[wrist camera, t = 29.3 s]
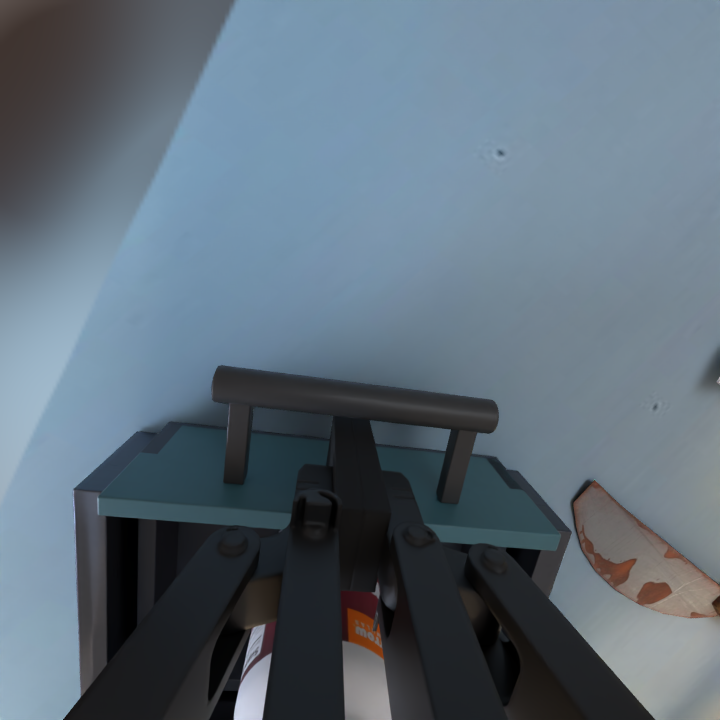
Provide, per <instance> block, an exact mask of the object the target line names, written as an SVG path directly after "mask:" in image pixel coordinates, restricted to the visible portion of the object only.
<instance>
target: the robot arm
mask: <svg viewBox="0 0 720 720" xmlns="http://www.w3.org/2000/svg"><path fill="white" fill-rule="evenodd" d="M377 580H378V581H379V588H380V594H379V599H378V604H377V608H376V613H375V618H374V622H373V631H377V627H378V622H379V627H380V635H381V642H382V650H383V657H384V665H385V673H386V680H387V688H388V695H389V703H390V711H391V718H392V720H655V719H654V718H653V717H652V716H651V714H650V713H649V712H648V711H647V710H646V709H645V708H644V706H643V705H642V704H641V703H640V702H639V701H638V700H637V699H636V697H635V696H634V695H633V694H632V693H631V692H630V691H629V689H628V688H627V687H626V686H625V685H624V684H623V683H622V681H621V680H620V679H619V678H618V677H617V676H616V675H615V673H614V672H613V671H612V670H611V669H610V668H609V667H608V666H607V664H606V663H605V662H604V661H603V660H602V659H601V658H600V656H599V655H598V654H597V653H596V652H595V651H594V650H593V648H592V647H591V646H590V645H589V644H588V643H587V642H586V640H585V639H584V638H583V637H582V636H581V635H580V634H579V633H578V631H577V630H576V629H575V628H574V627H573V626H572V625H571V623H570V622H569V621H568V620H567V619H566V618H565V617H564V615H563V614H562V613H561V612H560V611H559V610H558V609H557V607H556V606H555V605H554V604H553V603H552V602H551V601H550V600H549V598H548V597H547V596H546V595H545V594H544V593H543V592H542V590H541V589H540V588H539V587H538V586H537V585H536V584H535V582H534V581H533V580H532V579H531V578H530V577H529V576H528V575H527V573H526V572H525V571H524V570H523V569H522V568H521V567H520V565H519V564H518V563H517V562H516V561H515V560H514V559H513V558H512V557H511V556H510V555H509V554H508V553H507V552H506V551H504V550H502V549H500V548H499V547H497V546H494V545H491V544H487V543H478V544H475V545H472V547H471V548H470V549H469V552H468V554H466V553H463V552H459V551H456V550H453V549H451V548H448V547H446V546H444V545H442V544H441V543H440V540H439V538H438V536H437V535H436V533H435V532H434V531H433V530H432V529H431V528H429V527H428V526H426V525H425V524H424V522H423V519H422V516H421V513H420V510H419V507H418V505H417V502H416V500H415V496H414V493H413V492H412V488H411V485H410V482H409V480H408V479H407V478H406V477H405V476H404V475H403V474H402V473H401V472H396V471H386V470H381V466H380V462H379V458H378V454H377V449H376V445H375V441H374V437H373V433H372V429H371V425H370V421H369V420H365V419H356V418H348V417H339V416H333V421H332V428H331V435H330V441H329V448H328V454H327V461H326V466H325V465H315V464H304V465H303V466H302V467H301V469H300V470H299V471H298V476H297V483H296V490H295V496H294V500H293V506H292V514H291V521H290V523H289V524H288V526H287V527H286V528H285V529H284V530H282V531H281V532H279V533H277V534H274V535H271V536H266V537H261V538H260V537H259V535H258V534H257V533H256V532H255V531H254V530H253V529H251V528H248V527H246V526H239V525H233V526H226V527H223V528H221V529H219V530H216V531H215V532H214V533H213V534H211V535H210V536H209V537H208V538H207V540H206V541H205V542H204V543H203V545H202V546H201V547H200V548H199V550H198V551H197V552H196V553H195V555H194V556H193V557H192V558H191V560H190V561H189V562H188V563H187V565H186V566H185V567H184V568H183V570H182V571H181V572H180V573H179V575H178V576H177V577H176V578H175V580H174V581H173V582H172V583H171V585H170V586H169V587H168V589H167V590H166V591H165V592H164V594H163V595H162V596H161V597H160V599H159V600H158V601H157V602H156V604H155V605H154V606H153V607H152V609H151V610H150V611H149V612H148V614H147V615H146V616H145V617H144V619H143V620H142V621H141V622H140V624H139V625H138V626H137V627H136V629H135V630H134V631H133V632H132V634H131V635H130V636H129V638H128V639H127V640H126V641H125V643H124V644H123V645H122V646H121V648H120V649H119V650H118V651H117V653H116V654H115V655H114V656H113V658H112V659H111V660H110V661H109V663H108V664H107V665H106V666H105V668H104V669H103V670H102V671H101V673H100V674H99V675H98V676H97V678H96V679H95V680H94V681H93V683H92V684H91V685H90V687H89V688H88V689H87V690H86V692H85V693H84V694H83V695H82V697H81V698H80V699H79V700H78V702H77V703H76V704H75V705H74V707H73V708H72V709H71V710H70V712H69V713H68V714H67V715H66V717H65V718H64V719H63V720H209V719H210V716H211V714H212V712H213V710H214V708H215V706H216V704H217V702H218V699H219V697H220V695H221V693H222V691H223V689H224V687H225V685H226V682H227V680H228V678H229V676H230V674H231V672H232V670H233V668H234V666H235V663H236V661H237V659H238V657H239V655H240V653H241V651H242V649H243V646H244V644H245V642H246V640H247V638H248V636H249V634H250V630H251V628H253V627H257V626H260V625H264V624H268V623H271V622H275V621H276V627H275V634H274V641H273V648H272V655H271V662H270V669H269V676H268V683H267V690H266V697H265V704H264V711H263V718H262V720H345V701H344V673H343V645H342V617H341V591H357V592H374V593H375V590H376V585H377ZM501 628H503V630H504V631H505V633H506V634H507V636H508V637H509V639H510V640H509V639H508V638H507V637H506V636H505V635H504V634H503V632H502V631H501Z"/></svg>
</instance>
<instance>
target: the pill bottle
mask: <svg viewBox="0 0 720 720" xmlns="http://www.w3.org/2000/svg"><path fill="white" fill-rule="evenodd" d="M281 531H282V530H280V531H279V532H281ZM279 532H278V533H279ZM379 594H380V588H379V581H378V580H377V585H376V590H375V593H374V592H357V591H341V617H342V645H343V673H344V701H345V720H392V718H391V711H390V703H389V695H388V688H387V680H386V673H385V665H384V657H383V650H382V642H381V635H380V627H379V622H378V627H377V631H373V622H374V618H375V613H376V608H377V604H378V599H379ZM275 627H276V621H275V622H271V623H268V624H264V625H260V626H257V627H253V628H252V631H251V635H250V640H249V645H248V649H247V654H246V658H245V663H244V667H243V672H242V676H241V681H240V685H239V689H238V696H237V701H236V706H235V710H234V720H262V718H263V711H264V704H265V697H266V690H267V683H268V676H269V669H270V662H271V655H272V648H273V641H274V634H275Z"/></svg>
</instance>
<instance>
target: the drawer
mask: <svg viewBox="0 0 720 720" xmlns="http://www.w3.org/2000/svg"><path fill="white" fill-rule="evenodd" d="M211 395H212V400H213V401H214V402H218V403H227V404H229V413H228V426H227V428H224V427H214V426H205V425H196V424H187V423H177V422H169V423H168V424H167V425H166V426H165V427H164V428H163V429H162V430H161V431H160V432H159V433H158V434H157V435H156V436H155V437H154V439H153V440H152V441H151V442H150V443H149V444H148V445H147V446H146V447H145V448H144V449H143V450H142V451H141V452H140V453H139V454H138V455H137V456H136V457H135V458H134V459H133V460H132V461H131V462H130V463H129V465H128V466H127V467H126V468H125V469H124V470H123V471H122V472H121V473H120V474H119V475H118V476H117V477H116V478H115V479H114V480H113V481H112V482H111V483H110V484H109V485H108V486H107V487H106V488H105V489H104V490H103V491H102V492H101V494H100V495H99V496H98V498H97V503H98V515H101V516H114V517H127V518H138V589H137V626H138V625H139V624H140V622H141V621H142V620H143V619H144V617H145V616H146V615H147V614H148V612H149V611H150V610H151V609H152V607H153V606H154V605H155V604H156V602H157V601H158V600H159V599H160V597H161V596H162V595H163V594H164V592H165V591H166V590H167V589H168V587H169V586H170V585H171V583H172V582H173V581H174V580H175V578H176V577H177V576H178V575H179V573H180V572H181V571H182V570H183V568H184V567H185V566H186V565H187V563H188V562H189V561H190V560H191V558H192V557H193V556H194V555H195V553H196V552H197V551H198V550H199V548H200V547H201V546H202V545H203V543H204V542H205V541H206V540H207V538H208V537H209V536H210V535H211V534H213V533H214V532H215V531H216V530H219V529H221V528H223V527H226V526H233V525H239V526H246V527H248V528H251V529H253V530H254V531H255V532H256V533H257V534H258V535H259V537H260V538H261V537H266V536H271V535H274V534H277V533H278V532H279V531H280V530H284V529H285V528H286V527H287V526H288V524H289V523H290V521H291V514H292V506H293V500H294V496H295V490H296V483H297V476H298V471H299V470H300V469H301V467H302V466H303V465H304V464H315V465H325V466H326V461H327V454H328V448H329V441H330V439H325V438H316V437H307V436H297V435H288V434H279V433H270V432H260V431H251V430H252V420H253V409H254V407H261V408H270V409H279V410H287V411H296V412H305V413H313V414H322V415H330V416H339V417H348V418H356V419H365V420H374V421H382V422H391V423H400V424H408V425H417V426H426V427H434V428H443V429H451V432H450V436H449V441H448V445H447V449H446V452H445V451H436V450H427V449H418V448H408V447H399V446H390V445H381V444H375V445H376V449H377V454H378V458H379V462H380V466H381V470H386V471H396V472H401V473H402V474H403V475H404V476H405V477H406V478H407V479H408V480H409V482H410V485H411V488H412V492H413V493H414V496H415V500H416V502H417V505H418V507H419V510H420V513H421V516H422V519H423V522H424V524H425V525H426V526H428V527H429V528H431V529H432V530H433V531H434V532H435V533H436V535H437V536H438V538H439V540H440V543H441V544H442V545H444V546H446V547H448V548H451V549H453V550H456V551H459V552H463V553H466V554H468V552H469V549H470V548H471V547H472V545H475V544H478V543H487V544H491V545H494V546H497V547H499V548H500V549H502V550H504V551H506V548H507V547H511V548H524V549H537V550H550V551H556V549H557V547H558V544H559V541H560V538H561V534H560V533H559V532H558V531H557V530H556V528H555V527H554V526H553V525H552V524H551V522H550V521H549V520H548V519H547V518H546V517H545V515H544V514H543V513H542V512H541V511H540V509H539V508H538V507H537V506H536V505H535V503H534V502H533V501H532V500H531V499H530V497H529V496H528V495H527V494H526V493H525V491H524V490H523V489H522V488H521V486H520V485H519V484H518V483H517V482H516V480H515V479H514V478H513V477H512V476H511V474H510V473H509V472H508V471H507V470H506V468H505V467H504V466H503V465H502V464H501V462H500V461H499V460H498V459H497V458H496V457H492V456H482V455H473V454H471V453H472V450H473V446H474V442H475V438H476V434H477V433H486V434H490V433H492V432H494V430H495V429H496V427H497V424H498V418H499V412H498V407H497V404H496V403H495V402H494V401H493V400H490V399H482V398H474V397H466V396H458V395H450V394H443V393H435V392H427V391H419V390H411V389H403V388H395V387H388V386H380V385H372V384H364V383H356V382H348V381H340V380H333V379H325V378H317V377H309V376H301V375H293V374H286V373H278V372H270V371H262V370H254V369H246V368H238V367H231V366H223V365H221V366H218V367H217V369H216V371H215V374H214V377H213V381H212V389H211ZM251 631H252V628H251V630H250V634H249V636H248V638H247V640H246V642H245V644H244V646H243V649H242V651H241V653H240V655H239V657H238V659H237V661H236V663H235V666H234V668H233V670H232V672H231V674H230V676H229V678H228V680H227V682H226V685H225V687H224V689H223V691H238V689H239V685H240V681H241V676H242V672H243V667H244V663H245V658H246V654H247V649H248V645H249V640H250V635H251Z"/></svg>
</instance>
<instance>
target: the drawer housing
mask: <svg viewBox="0 0 720 720" xmlns="http://www.w3.org/2000/svg"><path fill="white" fill-rule="evenodd" d="M156 435H157V433H147V432H136V433H135V434H134V435H133V436H132V437H130V438H129V439H128V440H127V441H126V442H125V443H124V444H123V445H122V446H121V447H119V448H118V449H117V450H116V451H115V452H114V453H113V454H112V455H111V456H110V457H108V458H107V459H106V460H105V461H104V462H103V463H102V464H101V465H100V466H99V467H97V468H96V469H95V470H94V471H93V472H92V473H91V474H90V475H89V476H88V477H86V478H85V479H84V480H83V481H82V482H81V483H80V484H79V485H78V486H77V487H75V488H74V490H73V501H74V528H75V555H76V581H77V608H78V634H79V661H80V687H81V697H82V695H83V694H84V693H85V692H86V690H87V689H88V688H89V687H90V685H91V684H92V683H93V681H94V680H95V679H96V678H97V676H98V675H99V674H100V673H101V671H102V670H103V669H104V668H105V666H106V665H107V664H108V663H109V661H110V660H111V659H112V658H113V656H114V655H115V654H116V653H117V651H118V650H119V649H120V648H121V646H122V645H123V644H124V643H125V641H126V640H127V639H128V638H129V636H130V635H131V634H132V632H133V631H134V630H135V629H136V627H137V589H138V518H127V517H114V516H101V515H98V503H97V498H98V496H99V495H100V494H101V492H102V491H103V490H104V489H105V488H106V487H107V486H108V485H109V484H110V483H111V482H112V481H113V480H114V479H115V478H116V477H117V476H118V475H119V474H120V473H121V472H122V471H123V470H124V469H125V468H126V467H127V466H128V465H129V463H130V462H131V461H132V460H133V459H134V458H135V457H136V456H137V455H138V454H139V453H140V452H141V451H142V450H143V449H144V448H145V447H146V446H147V445H148V444H149V443H150V442H151V441H152V440H153V439H154V437H155V436H156ZM507 471H508V472H509V473H510V474H511V476H512V477H513V478H514V479H515V480H516V482H517V483H518V484H519V485H520V486H521V488H522V489H523V490H524V491H525V493H526V494H527V495H528V496H529V497H530V499H531V500H532V501H533V502H534V503H535V505H536V506H537V507H538V508H539V509H540V511H541V512H542V513H543V514H544V515H545V517H546V518H547V519H548V520H549V521H550V522H551V524H552V525H553V526H554V527H555V528H556V530H557V531H558V532H559V533H560V534H561V538H560V541H559V544H558V547H557V549H556V551H550V550H537V549H524V548H511V547H507V548H506V552H507V553H508V554H509V555H510V556H511V557H512V558H513V559H514V560H515V561H516V562H517V563H518V564H519V565H520V567H521V568H522V569H523V570H524V571H525V572H526V573H527V575H528V576H529V577H530V578H531V579H532V580H533V581H534V582H535V584H536V585H537V586H538V587H539V588H540V589H541V590H542V592H543V593H544V594H545V595H546V596H547V597H548V598H549V595H550V592H551V590H552V587H553V584H554V581H555V578H556V576H557V573H558V570H559V567H560V564H561V562H562V559H563V556H564V553H565V550H566V548H567V545H568V542H569V539H570V536H571V534H572V532H571V530H570V529H569V528H568V527H567V526H566V525H565V524H564V522H563V521H562V520H561V519H560V518H559V517H558V516H557V515H556V513H555V512H554V511H553V510H552V509H551V508H550V507H549V506H548V504H547V503H546V502H545V501H544V500H543V499H542V498H541V496H540V495H539V494H538V493H537V492H536V491H535V490H534V489H533V487H532V486H531V485H530V484H529V483H528V482H527V481H526V480H525V478H524V477H523V476H522V475H521V474H520V473H519V472H518V471H513V470H507ZM501 631H502V632H503V634H504V635H505V636H506V637H507V638H508V639H509V637H508V636H507V634H506V633H505V631H504V630H503V628H501ZM509 640H510V639H509ZM237 696H238V691H222V693H221V695H220V697H219V699H218V702H217V704H216V706H215V708H214V710H213V712H212V714H211V716H210V719H209V720H234V710H235V706H236V701H237Z"/></svg>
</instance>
